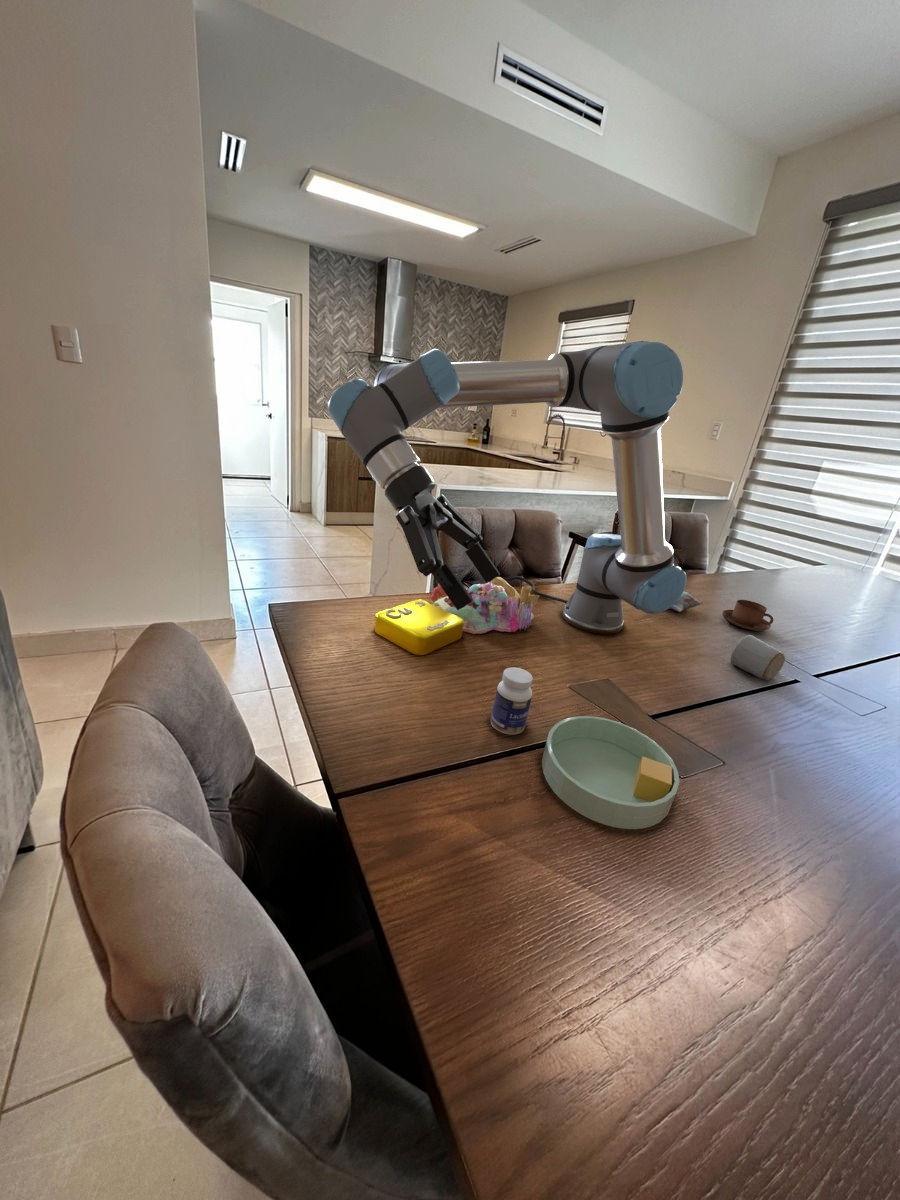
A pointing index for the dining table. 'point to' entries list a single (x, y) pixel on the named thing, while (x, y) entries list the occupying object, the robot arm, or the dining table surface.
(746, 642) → the ceramic mug
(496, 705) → the pill bottle
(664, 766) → the block
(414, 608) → the element tile
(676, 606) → the packaged food
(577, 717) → the bowl
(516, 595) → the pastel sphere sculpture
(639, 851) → the dining table surface
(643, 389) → the robot arm
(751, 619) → the cup and saucer
